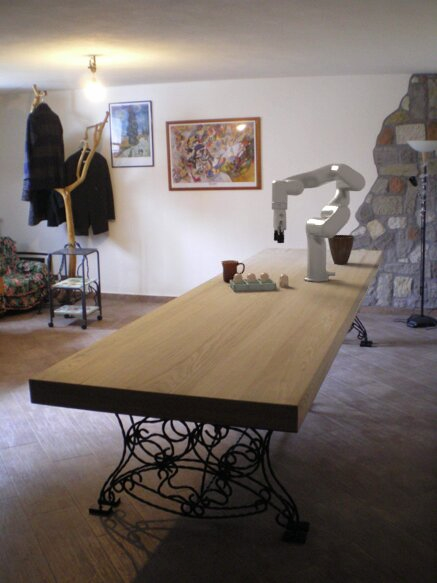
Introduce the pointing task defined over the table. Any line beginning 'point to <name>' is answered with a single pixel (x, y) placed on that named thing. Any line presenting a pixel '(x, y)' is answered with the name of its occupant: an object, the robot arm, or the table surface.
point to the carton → (252, 283)
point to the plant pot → (341, 248)
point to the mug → (230, 269)
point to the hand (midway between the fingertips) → (278, 241)
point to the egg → (283, 281)
